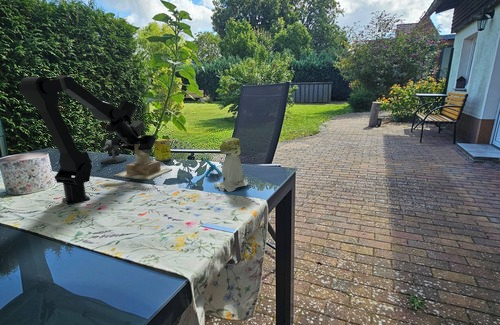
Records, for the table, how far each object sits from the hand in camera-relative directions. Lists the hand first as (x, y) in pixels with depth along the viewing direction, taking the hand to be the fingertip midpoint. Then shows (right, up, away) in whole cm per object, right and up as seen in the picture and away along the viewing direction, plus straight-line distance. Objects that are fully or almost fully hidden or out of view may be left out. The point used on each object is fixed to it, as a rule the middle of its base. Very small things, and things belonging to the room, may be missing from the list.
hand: (144, 152), depth 123 cm
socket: (0, -9, +1) cm, 9 cm away
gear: (+31, -10, -2) cm, 32 cm away
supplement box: (+1, -3, +25) cm, 25 cm away
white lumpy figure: (+39, -13, -17) cm, 45 cm away
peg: (0, -7, 0) cm, 7 cm away
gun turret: (-24, -5, +20) cm, 32 cm away
